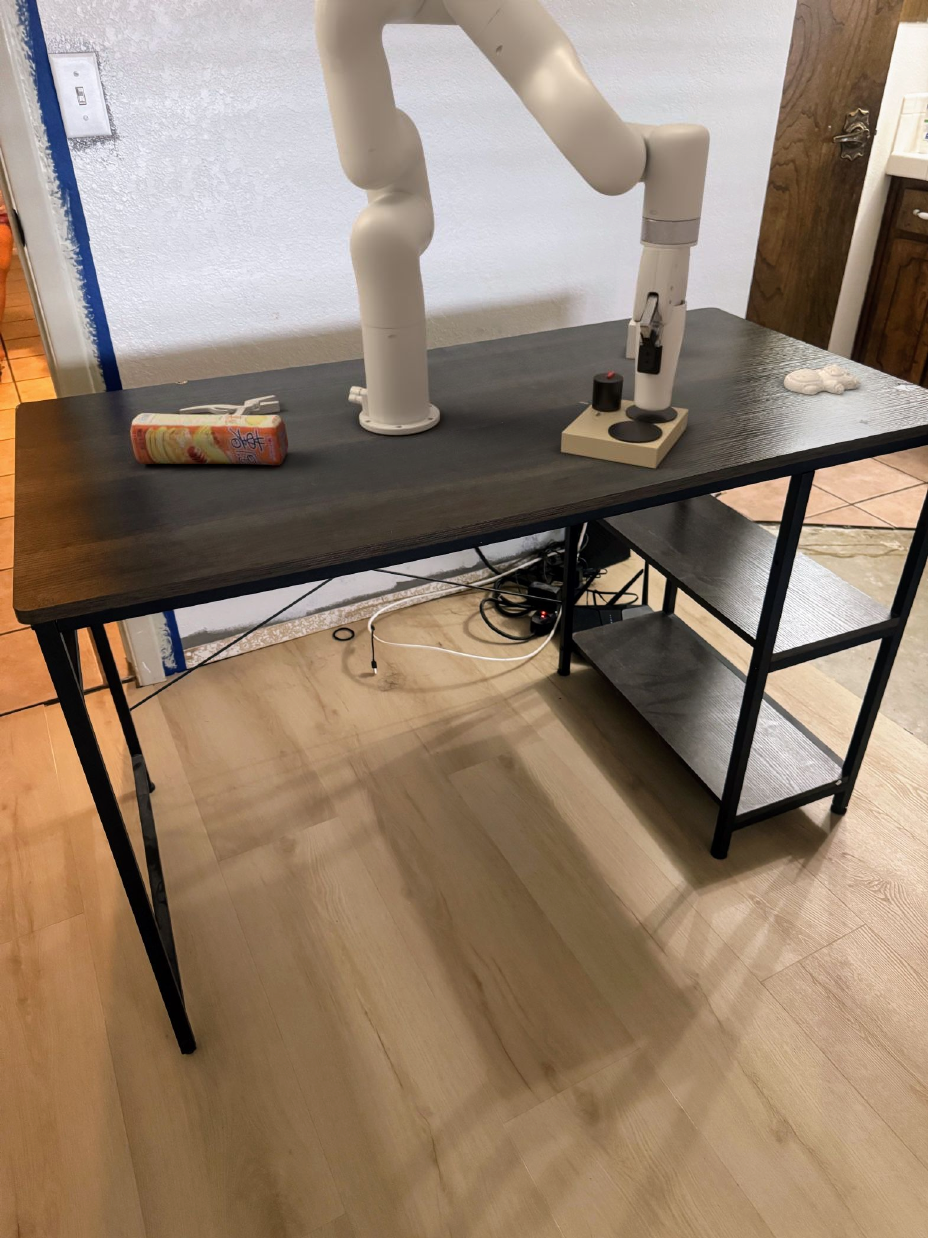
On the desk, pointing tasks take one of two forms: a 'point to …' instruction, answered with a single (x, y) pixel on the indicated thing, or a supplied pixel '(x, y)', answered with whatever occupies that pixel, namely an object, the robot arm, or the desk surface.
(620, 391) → the hob knob
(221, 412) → the pliers
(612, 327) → the desk surface
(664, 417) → the burner
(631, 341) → the white cube
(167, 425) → the snack package
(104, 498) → the desk surface
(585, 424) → the hot plate
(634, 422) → the burner
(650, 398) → the drinking glass
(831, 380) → the astronaut figurine
